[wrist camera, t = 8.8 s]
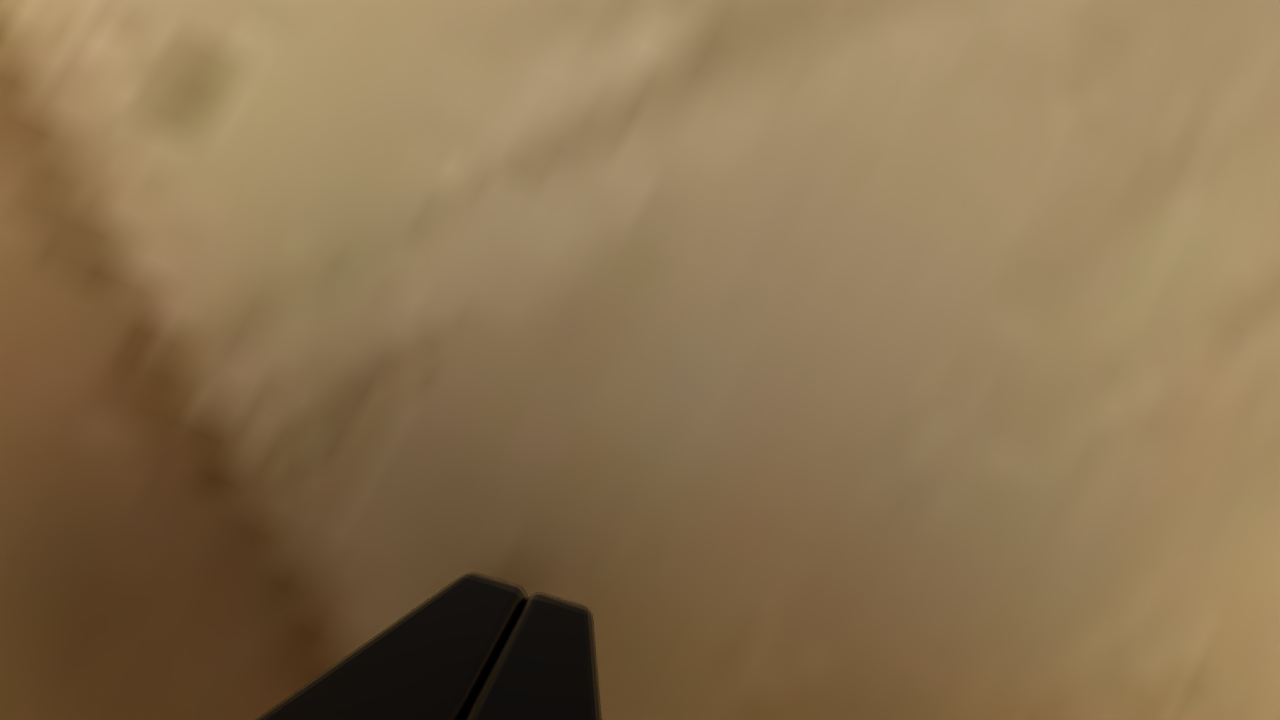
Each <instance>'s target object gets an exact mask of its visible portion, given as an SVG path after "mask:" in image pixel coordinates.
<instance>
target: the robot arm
mask: <svg viewBox="0 0 1280 720" xmlns="http://www.w3.org/2000/svg"><path fill="white" fill-rule="evenodd" d="M256 720H602V718H601V706H600V694H599V682H598V670H597V658H596V646H595V634H594V622H593V616H592V613H591V611H590V609H589V608H588V607H586V606H584V605H581V604H578V603H575V602H572V601H568V600H565V599H562V598H559V597H555V596H552V595H549V594H546V593H542V592H537V593H533V594H532V595H531V596H530V597H529V598H528V595H527V592H526V591H525V590H524V588H523V587H521V586H519V585H516V584H513V583H510V582H506V581H503V580H500V579H497V578H493V577H490V576H487V575H484V574H480V573H476V572H472V573H467V574H464V575H462V576H461V577H459V578H458V579H456V580H455V581H453V582H452V583H451V584H449V585H448V586H446V587H445V588H443V589H442V590H441V591H439V592H438V593H436V594H435V595H433V596H432V597H431V598H429V599H428V600H426V601H425V602H423V603H422V604H421V605H419V606H418V607H416V608H415V609H413V610H412V611H411V612H409V613H408V614H406V615H405V616H403V617H402V618H401V619H399V620H398V621H396V622H395V623H393V624H392V625H391V626H389V627H388V628H386V629H385V630H383V631H382V632H381V633H379V634H378V635H376V636H375V637H373V638H372V639H371V640H369V641H368V642H366V643H365V644H363V645H362V646H361V647H359V648H358V649H356V650H355V651H353V652H352V653H351V654H349V655H348V656H346V657H345V658H343V659H342V660H341V661H339V662H338V663H336V664H335V665H333V666H332V667H331V668H329V669H328V670H326V671H325V672H323V673H322V674H320V675H319V676H318V677H316V678H315V679H313V680H312V681H310V682H309V683H308V684H306V685H305V686H303V687H302V688H300V689H299V690H298V691H296V692H295V693H293V694H292V695H290V696H289V697H288V698H286V699H285V700H283V701H282V702H280V703H279V704H278V705H276V706H275V707H273V708H272V709H270V710H269V711H268V712H266V713H265V714H263V715H262V716H260V717H259V718H258V719H256Z"/></svg>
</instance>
